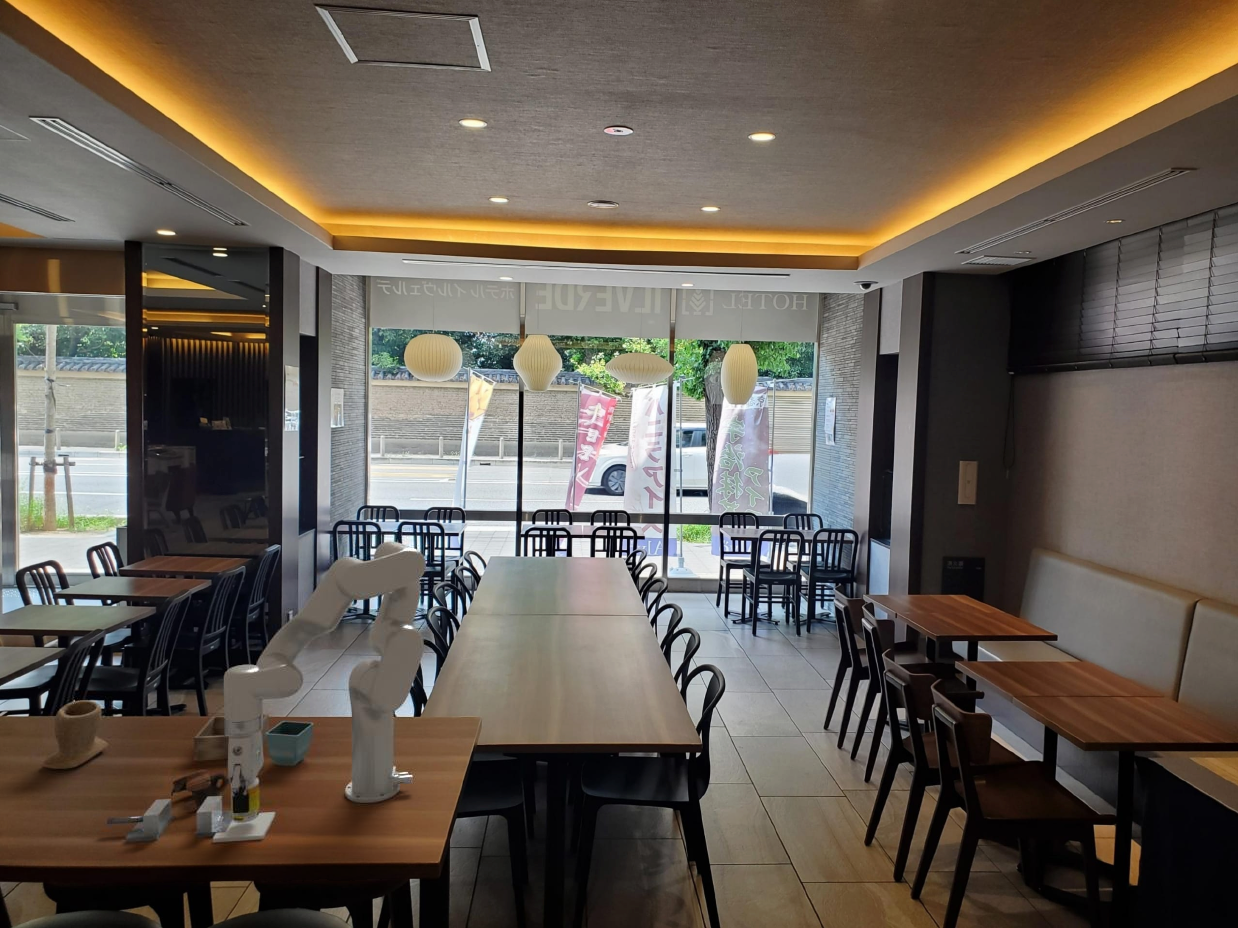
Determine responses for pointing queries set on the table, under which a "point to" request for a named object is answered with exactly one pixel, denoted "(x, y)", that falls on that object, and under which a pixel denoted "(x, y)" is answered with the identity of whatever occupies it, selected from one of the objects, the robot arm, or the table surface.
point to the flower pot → (289, 742)
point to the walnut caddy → (217, 739)
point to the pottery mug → (200, 787)
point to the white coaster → (246, 829)
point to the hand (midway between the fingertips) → (245, 804)
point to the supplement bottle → (253, 803)
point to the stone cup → (76, 735)
